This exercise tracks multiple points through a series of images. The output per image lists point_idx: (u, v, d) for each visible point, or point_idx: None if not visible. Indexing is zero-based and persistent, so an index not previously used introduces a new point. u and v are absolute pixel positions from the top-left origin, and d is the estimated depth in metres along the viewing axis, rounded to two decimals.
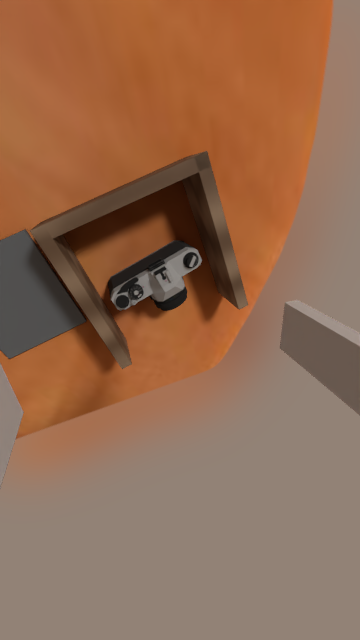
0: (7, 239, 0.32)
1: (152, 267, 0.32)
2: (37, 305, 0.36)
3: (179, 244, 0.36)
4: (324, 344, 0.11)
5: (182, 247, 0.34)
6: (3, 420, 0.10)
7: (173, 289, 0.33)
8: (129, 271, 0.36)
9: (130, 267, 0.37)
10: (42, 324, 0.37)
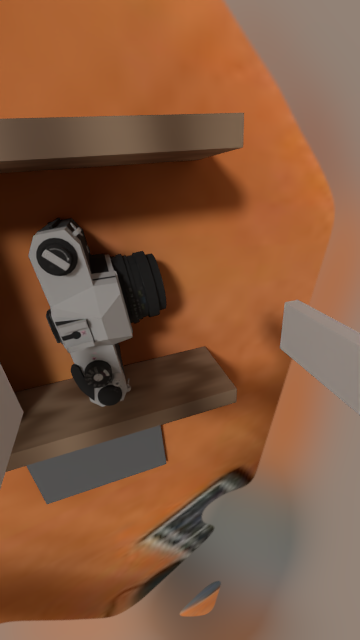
0: None
1: (57, 337, 0.16)
2: None
3: None
4: (324, 344, 0.11)
5: None
6: (3, 420, 0.10)
7: (108, 319, 0.15)
8: None
9: None
10: (139, 432, 0.30)
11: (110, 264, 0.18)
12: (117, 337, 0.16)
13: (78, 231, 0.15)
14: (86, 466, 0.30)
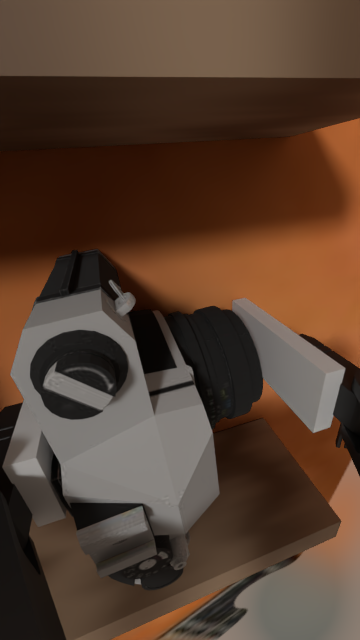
0: None
1: None
2: None
3: None
4: (260, 339, 0.12)
5: None
6: None
7: (190, 496, 0.07)
8: None
9: None
10: None
11: (173, 344, 0.09)
12: (198, 515, 0.08)
13: (130, 305, 0.06)
14: None
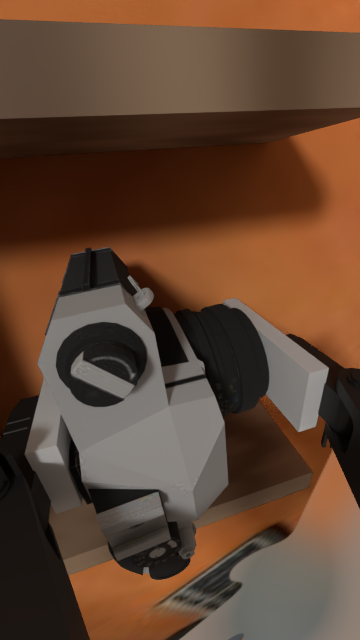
0: None
1: (88, 497, 0.08)
2: None
3: None
4: None
5: None
6: None
7: (203, 483, 0.07)
8: None
9: None
10: None
11: (184, 340, 0.10)
12: (209, 503, 0.08)
13: (149, 300, 0.07)
14: None
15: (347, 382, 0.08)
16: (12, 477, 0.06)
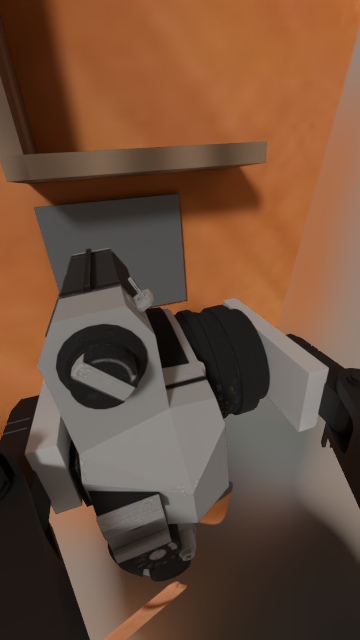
0: (43, 232, 0.26)
1: (88, 499, 0.08)
2: (135, 241, 0.29)
3: None
4: None
5: None
6: None
7: (203, 485, 0.07)
8: None
9: None
10: (161, 248, 0.30)
11: (185, 341, 0.10)
12: (209, 505, 0.08)
13: (150, 301, 0.07)
14: None
15: (347, 382, 0.08)
16: (12, 477, 0.06)
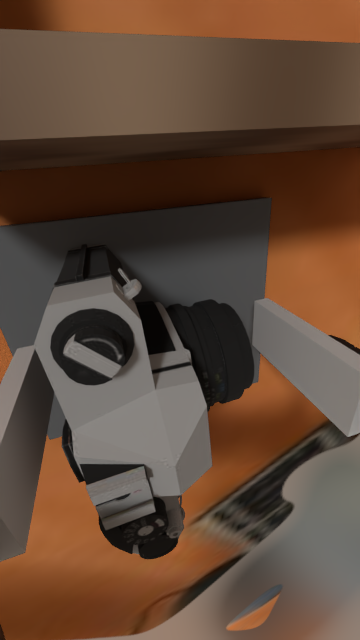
0: None
1: (80, 475, 0.09)
2: (180, 292, 0.14)
3: None
4: (286, 340, 0.12)
5: None
6: (41, 396, 0.11)
7: (185, 460, 0.08)
8: None
9: None
10: (227, 302, 0.15)
11: (173, 331, 0.10)
12: (192, 481, 0.09)
13: (137, 290, 0.07)
14: None
15: None
16: None
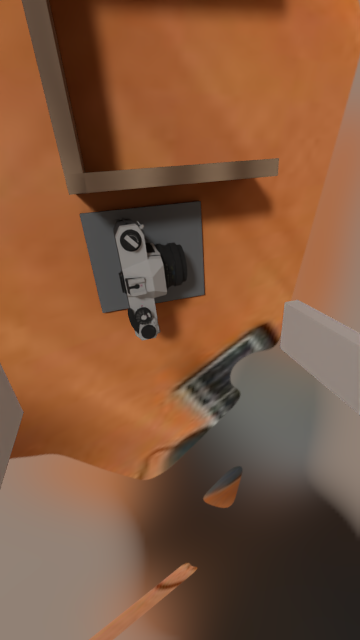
0: (86, 235, 0.30)
1: (123, 289, 0.27)
2: (162, 242, 0.33)
3: (114, 234, 0.28)
4: (323, 344, 0.11)
5: (115, 239, 0.27)
6: (3, 420, 0.10)
7: (156, 279, 0.26)
8: None
9: None
10: (184, 248, 0.34)
11: (155, 248, 0.29)
12: (159, 291, 0.27)
13: (142, 226, 0.26)
14: None
15: None
16: None
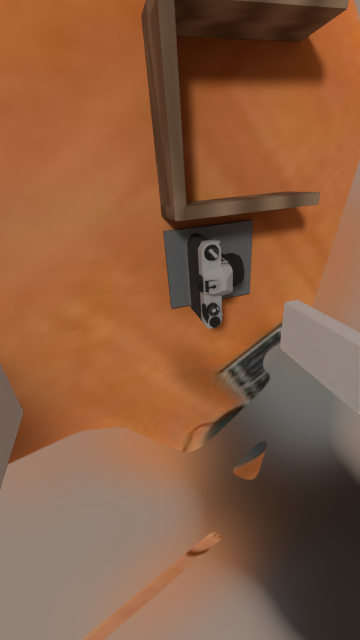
0: (167, 247, 0.39)
1: (201, 289, 0.36)
2: (221, 252, 0.42)
3: (192, 247, 0.37)
4: (323, 344, 0.11)
5: (196, 250, 0.35)
6: (3, 420, 0.10)
7: (228, 281, 0.35)
8: (194, 297, 0.41)
9: (191, 291, 0.42)
10: None
11: (222, 257, 0.37)
12: (228, 290, 0.36)
13: (219, 242, 0.34)
14: None
15: None
16: None
